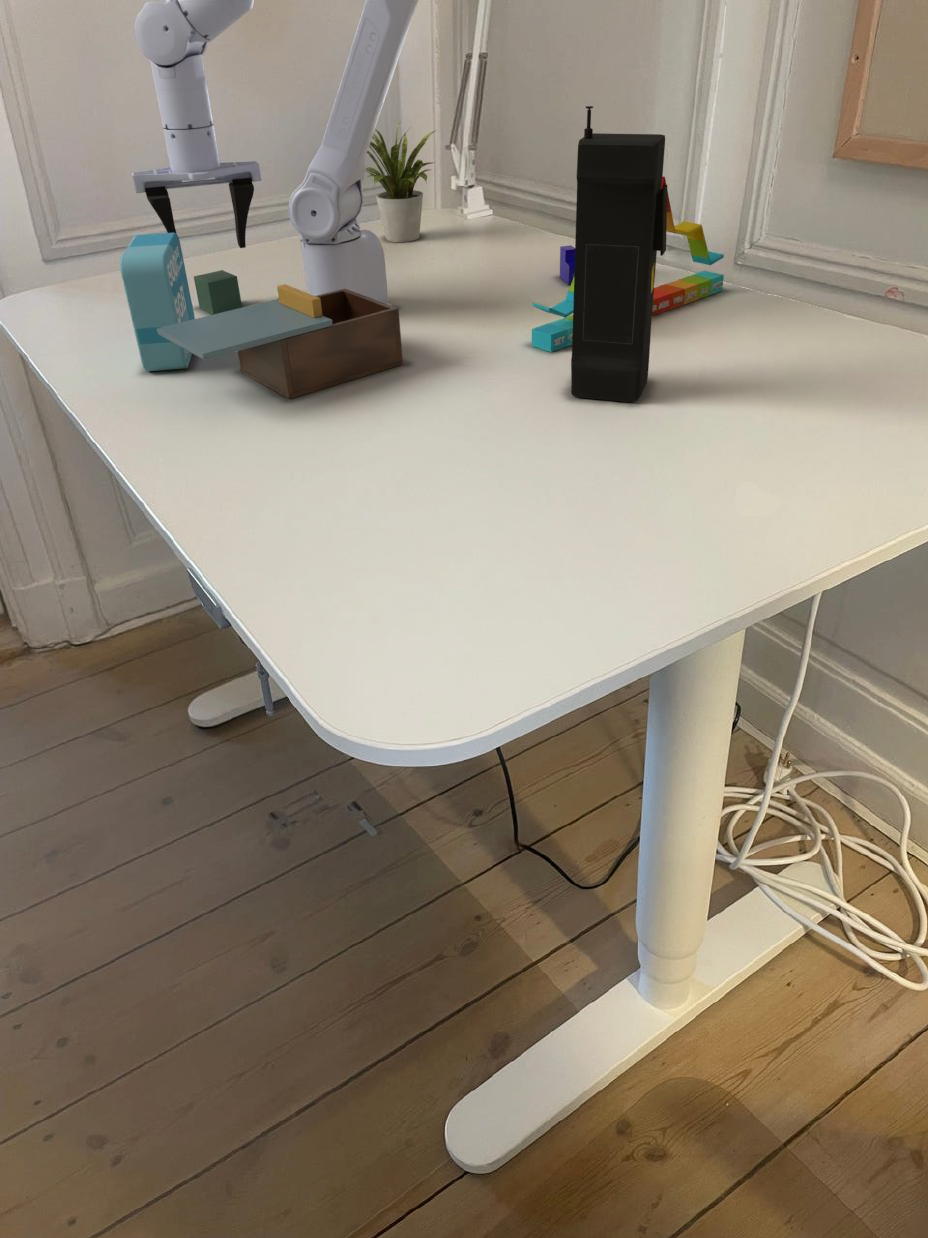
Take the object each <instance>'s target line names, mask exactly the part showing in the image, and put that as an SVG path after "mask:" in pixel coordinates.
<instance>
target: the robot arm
mask: <svg viewBox="0 0 928 1238" xmlns="http://www.w3.org/2000/svg"><path fill="white" fill-rule="evenodd" d="M418 3H419V0H365V2H364V5H363V8H362V11H361V14H360V18H359V21H358V24H357V27H356V31H355V33H354V37H353V40H352V43H351V46H350V50H349V54H348V56H347V60H346V63H345V67H344V69H343V73H342V75H341V79H340V82H339V86H338V89H337V92H336V95H335V99H334V101H333V105H332V109H331V112H330V115H329V119H328V121H327V125H326V127H325V131H324V134H323V138H322V141H321V144H320V146H319V148H318V150H317V152H316V154H315V155H314V157H313V158H312V160H311V162H310V164H309V166H308V168H307V169H306V170H307V171H306V174H305V176H304V179H303V181H302V182H301V183H300V184H299V185H298V186H297V187H296V188H295V189H294V190H293V192H292V193H291V194H290V197H289V200H288V207H287V208H288V209H287V211H288V216H289V220H290V222H291V225H292V227H293V228H294V230H295V231H296V232H297V233H298V234H299V235H298V236H299V241H300V242H299V243H300V250H301V257H302V264H303V265H302V266H303V272H304V280H305V288H306V289H305V290H306V293H308V294H311V295H313V296H317V295H321V294H325V293H329V292H333V291H337V290H341V289H348V290H351V291H353V292H356V293H359V294H361V295H364V296H367V297H369V298H372V299H374V300H377V301H380V302H382V303H385V304H388V305H390V306H393V304H392V303H390V302H389V296H388V284H387V269H386V268H387V267H386V258H385V253H384V249H383V244H382V242H381V240H380V239H379V237H378V236H377V234H376V233H375V232H373V231H372V230H370V229H361V227H360V224H359V222H358V220H357V217H359V215H360V213H361V212H362V210H363V205H364V192H363V183H364V180H365V179H364V178H365V177H366V176H365V175H366V172H367V171H366V168H367V166H366V156H367V155H368V153H367V151H369V148H370V147H369V145H370V142H372V140H373V138H372V136H373V137H374V135H373V134H375V131H376V130H375V129H376V127H377V125H378V122H379V118H380V115H381V112H382V109H383V106H384V104H385V101H386V97H387V95H388V92H389V89H390V85H391V83H392V81H393V78H394V74H395V71H396V68H397V66H398V62H399V59H400V56H401V53H402V50H403V48H404V44H405V43H406V42H405V41H406V40H407V39H406V38H407V36H408V32H409V30H410V28H411V23H412V21H413V18H414V15H415V13H416V9H417V5H418ZM254 4H255V0H165V1H160V0H153V1H148V2H146V3H144V5H143V7H142V9H141V10H140V11H139V12H138V13H137V16H136V18H135V21H134V37H135V40H136V43H137V45H138V48H139V49H140V51H141V52H142V54H143V55H144V57H146V59H148V60H149V64H150V69H151V73H152V79H153V85H154V90H155V96H156V100H157V105H158V111H159V116H160V122H161V127H162V132H163V136H164V142H165V146H166V152H167V159H168V163H169V167H162V168H156V169H150V170H149V169H148V170H143V171H135V172H133V171H132V172H131V177H132V183H133V186H134V191H135V193H136V194H141V193H142V194H143V193H144V194H145V196H146V200H147V201H148V202H149V203H150V206H151V207H152V209H153V210H154V212H155V213H156V215H157V216H158V218H159V220H160V221H161V223H162V225H163V226H164V229H165V231H166V233H176V234H177V235H178V233H177V230H176V224H175V220H174V214H173V209H172V204H171V198H170V195H169V191H168V190H171V189H182V188H191V187H202V186H212V185H223V184H228V188H229V193H230V199H231V204H232V209H233V216H234V224H235V235H236V241H237V245H238V247H239V249H244V248H245V249H246V248H247V244H246V231H247V223H248V216H249V211H250V207H251V203H252V200H253V197H254V193H255V186H254V183H255V182H261V181H262V174H261V169H260V168H261V167H260V163H259V162H258V160H251V161H230V162H226V161H225V162H221V159H220V153H219V148H218V142H217V136H216V130H215V124H214V119H213V118H214V117H213V113H212V112H213V111H212V106H211V100H210V95H209V88H208V82H207V77H206V76H207V75H206V71H205V65H204V56H205V52H206V51H207V49H208V45H209V43H211V42H212V41H213V40H215V39H216V38H217V37H218V36H220V35H221V34H222V33H223V32H225V31H226V30H227V29H229V28H230V27H231V26H232V25H233V24H234V23H236V22H237V21H238V20H240V19H241V18H242V17H244V16H245V15H246V14H247V13H249V12H250V11H251V10H252V9H253V8H254ZM370 146H371V145H370Z"/></svg>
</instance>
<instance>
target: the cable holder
mask: <svg viewBox="0 0 928 1238" xmlns="http://www.w3.org/2000/svg"><path fill="white" fill-rule="evenodd" d="M559 248H560V249H559V279H560V280H561V281H563V282H564V283H565V284H566V285H568V286H571V283H572V281H573V279H574V271H575V246H573V245H572V244H571V245H562V246H559Z"/></svg>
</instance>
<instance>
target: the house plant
mask: <svg viewBox="0 0 928 1238" xmlns="http://www.w3.org/2000/svg"><path fill="white" fill-rule="evenodd" d="M401 122H402V119H401V120H400V121H399V122H398V124H397V128H396V131H395V140H394V145H392V146H391V147H390V153H389V152H388V149H387V145H386V142H385V139H384V137H383V135H382V134H381V132H380V131H378V130H377V129H376V128H375V130H374V131H376V132H377V135H378V136H379V137H378V136H377V135H376V134H375V133H373V136H372V140H373V141H374V142H373V141H371V142H370V145H369V148H370V150H371V151H372V152H373V154H374V155H375V156H374V155H373V154H372V152H370V150H368V151H367V155H368V156H369V158H371V160H372V161H373V162H374V164H375V165H376V167H377V169H378V170H379V171H378V170H377V169H376V168H373V167H371V166H369V167H366V173H368V174H369V175H366V176H364V179H363V180H365V179H366V178H367V177H373V178H374V179H373V186H374V187H375V186H376V184H377V183H379V184H380V185H381V186H382V187H383V189H384V190H385V191H382V192H379V193H377V194H376V196H375V197H376V202H377V207H378V211H379V215H380V219H381V223H382V228H383V233H384V236H385V240H386V241H388V242H393V243H405V242H406V243H408V242H413V241H416V240H418V239H419V238H420V232H421V223H422V222H421V221H422V210H423V200H424V199H423V198H424V192H422V191H419V190H415V189H414V188H415V185H416V183H417V181H418V179H419V178H420V177H421V178H422V179H423V180H424V181H425V183H426V185H427V180H428V175H427V174H426V172H429V171H431V169H430V168H429V169H428V168H427V169H424V170H422V171H421V169H422V168H423V167H425V166H427V165H432V164H435V163H436V161H432V162H431V161H430V162H423V160H422V159H417V160H416V158H417V156H418V154H419V153H420V151H421V150H422V148H423V147H424V145H425V144H426V142H427V140H429V138H430V136H431V135H432V134H434V133H435V132H437V129H436V130H435V129H434V130H433V131H430V132H429V133H427V134H426V135H425V136H424V137H423V138H421V140H420V141H419V143H418V144H417V146H415V147H414V149H413V150H412V151H411V153H410V155H409V156H408V158H407V152H408V136H407V132H404V134H403V135H402V136H401V138H400V140H399V143H398V132H399V128H400V124H401ZM411 128H412V126H409V128H408V129H407V131H409V130H410V129H411ZM402 140H403V141H402ZM400 148H401V155H400ZM376 158H377V159H378V161H379V162H378V161H377V159H376ZM399 158H400V159H399ZM406 158H407V161H406ZM415 160H416V161H415ZM379 163H380V164H379ZM381 165H382V167H383V169H384V170H385V172H384V170H383V169H382V167H381ZM366 173H365V174H366ZM385 173H386V174H387V175H386V174H385Z"/></svg>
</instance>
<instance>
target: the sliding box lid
mask: <svg viewBox="0 0 928 1238" xmlns="http://www.w3.org/2000/svg"><path fill="white" fill-rule="evenodd" d="M276 289H277V295H278V298H275V299H271V300H268V301H264V302H259V303H255V304H251V305H245V306H242V308H238V309H234V310H230V311H226V312H222V313H218V314H214V315H212V314H210V315H206V316H202V317H197V318H195V319H193V320H189V321H185V322H181V323H177V324H173V325H169V326H165V327H161V328H157V331H158V334H159V335H161V336H162V337H164V338H166V339H168V340H169V341H171V342H173V343H175V344H177V345H178V346H180V347H182V348H184V349H185V350H187V351H189V352H191V353H192V355H194V356H196V357H197V358H200V359H201V360H203V361H206V360H210V359H214V358H217V357H220V356H225V355H228V354H233V353H236V352H237V351H240V350H244V349H247V348H251V347H255V346H258V345H262V344H266V343H270V342H273V341H277V340H281V339H284V338H288V337H292V336H296V335H299V334H303V333H307V332H310V331H314V330H318V329H322V328H325V327H329V326H333V323H332V320H331V319H329V318H327V317H324V316H322V307H321V299H320V298H318V297H316V296H313V295H311V294H308V293H307V291H303V290H301V289H298V288H296V287H293V286H291V285H288V284H286V283H284V284H280V285H277V287H276Z"/></svg>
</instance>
